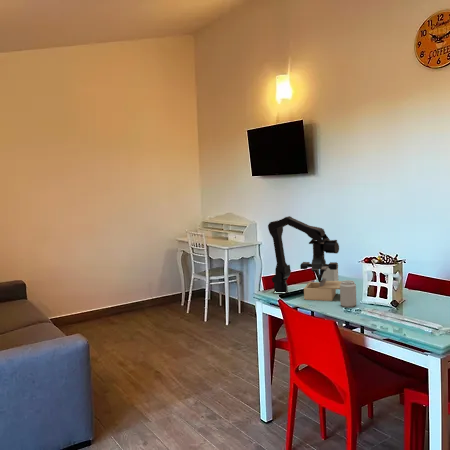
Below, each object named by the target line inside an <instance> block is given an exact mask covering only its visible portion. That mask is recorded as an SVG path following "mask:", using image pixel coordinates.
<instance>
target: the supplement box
mask: <svg viewBox="0 0 450 450" xmlns="http://www.w3.org/2000/svg"><path fill="white" fill-rule="evenodd" d="M323 278H326V281H340V280H339V267H338V268H337V270H330V269H329V268H327V270H326V271H324V273H323V276H322V279H323ZM322 279H321V280H322Z"/></svg>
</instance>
